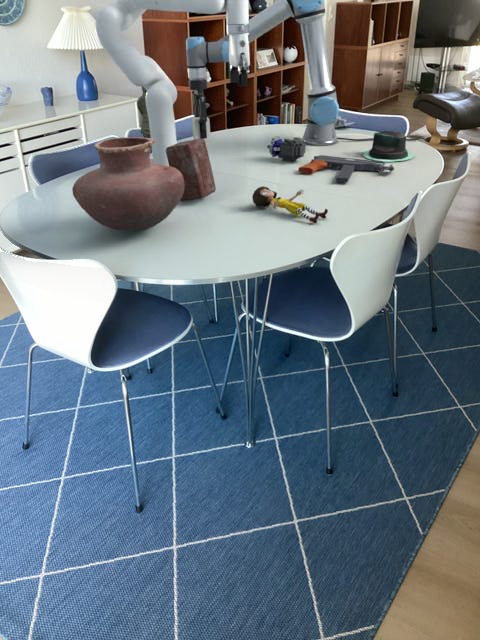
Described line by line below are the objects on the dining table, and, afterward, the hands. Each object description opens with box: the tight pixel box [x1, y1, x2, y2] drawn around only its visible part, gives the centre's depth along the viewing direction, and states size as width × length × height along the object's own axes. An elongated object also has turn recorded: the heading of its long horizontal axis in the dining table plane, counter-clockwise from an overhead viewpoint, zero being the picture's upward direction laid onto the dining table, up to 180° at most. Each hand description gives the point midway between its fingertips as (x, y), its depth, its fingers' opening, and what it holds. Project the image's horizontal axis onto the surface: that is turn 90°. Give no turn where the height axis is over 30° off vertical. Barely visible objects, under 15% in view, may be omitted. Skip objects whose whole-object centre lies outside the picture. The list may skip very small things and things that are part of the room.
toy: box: [266, 135, 306, 163], centre depth 223 cm, size 9×9×15 cm
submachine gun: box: [298, 154, 395, 183], centre depth 205 cm, size 32×3×25 cm
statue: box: [136, 86, 152, 152], centre depth 237 cm, size 11×9×30 cm
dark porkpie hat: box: [362, 130, 414, 163], centre depth 226 cm, size 15×19×20 cm
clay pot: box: [72, 136, 185, 232], centre depth 155 cm, size 30×30×25 cm
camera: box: [334, 115, 355, 128], centre depth 275 cm, size 9×12×15 cm
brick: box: [191, 116, 212, 144], centre depth 239 cm, size 5×6×10 cm
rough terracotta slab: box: [166, 139, 217, 202], centre depth 188 cm, size 17×10×40 cm
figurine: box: [251, 185, 329, 224], centre depth 169 cm, size 13×8×25 cm
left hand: (238, 84), depth 196 cm, fingers open, 9 cm apart
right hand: (201, 136), depth 241 cm, fingers closed on brick, 5 cm apart
